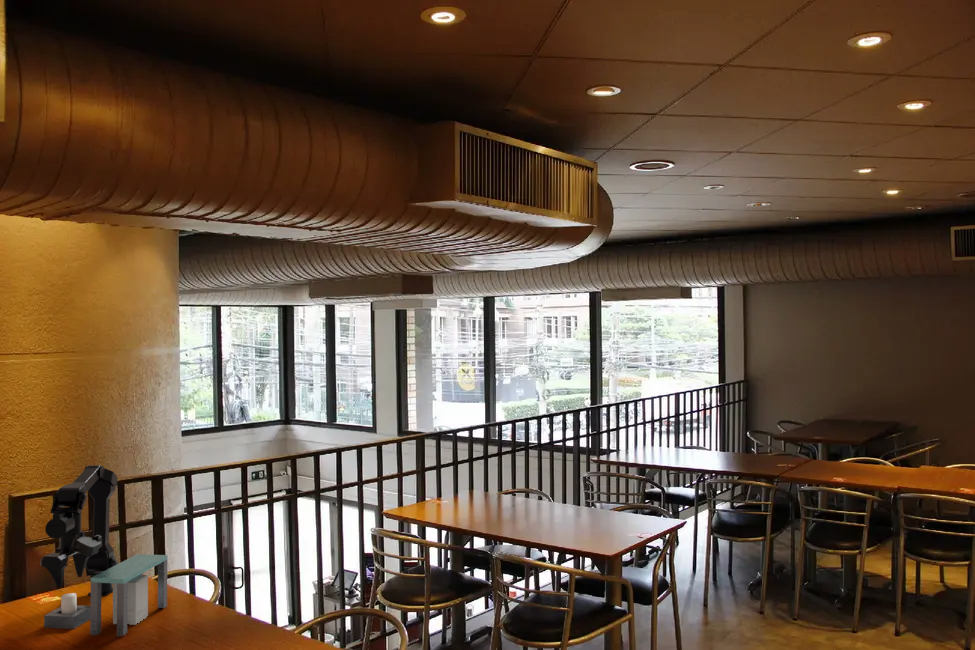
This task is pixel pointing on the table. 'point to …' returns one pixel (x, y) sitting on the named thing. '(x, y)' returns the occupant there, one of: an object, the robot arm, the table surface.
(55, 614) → the socket
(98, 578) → the miniature teal stool
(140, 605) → the supplement box
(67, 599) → the peg
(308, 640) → the table surface
